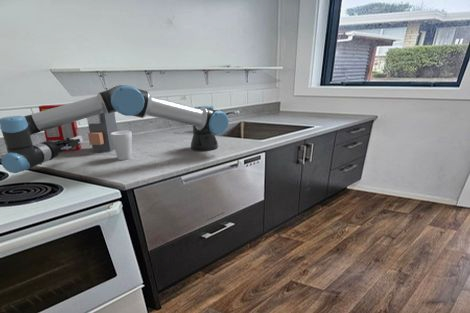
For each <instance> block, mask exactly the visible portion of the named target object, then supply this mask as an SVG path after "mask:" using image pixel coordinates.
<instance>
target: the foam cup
mask: <svg viewBox="0 0 470 313" xmlns="http://www.w3.org/2000/svg"><path fill="white" fill-rule="evenodd" d="M110 134H111V139H112V141H113V144H114V148H115V150H114V151H115V154H116V157H117V160H119V161H126V160H130V159H132V155H133V154H132V151H133V150H132V148H133V147H132V145H133V144H132V141H133V140H132V138H133V134H132V131H131V130H117V132H112V133H110Z"/></svg>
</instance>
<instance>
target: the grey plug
mask: <svg viewBox="0 0 470 313" xmlns="http://www.w3.org/2000/svg"><path fill="white" fill-rule="evenodd" d="M86 120H87V124H99V123H102V119H101V114H98V115H94V116H91V117H88V118H86Z"/></svg>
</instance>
